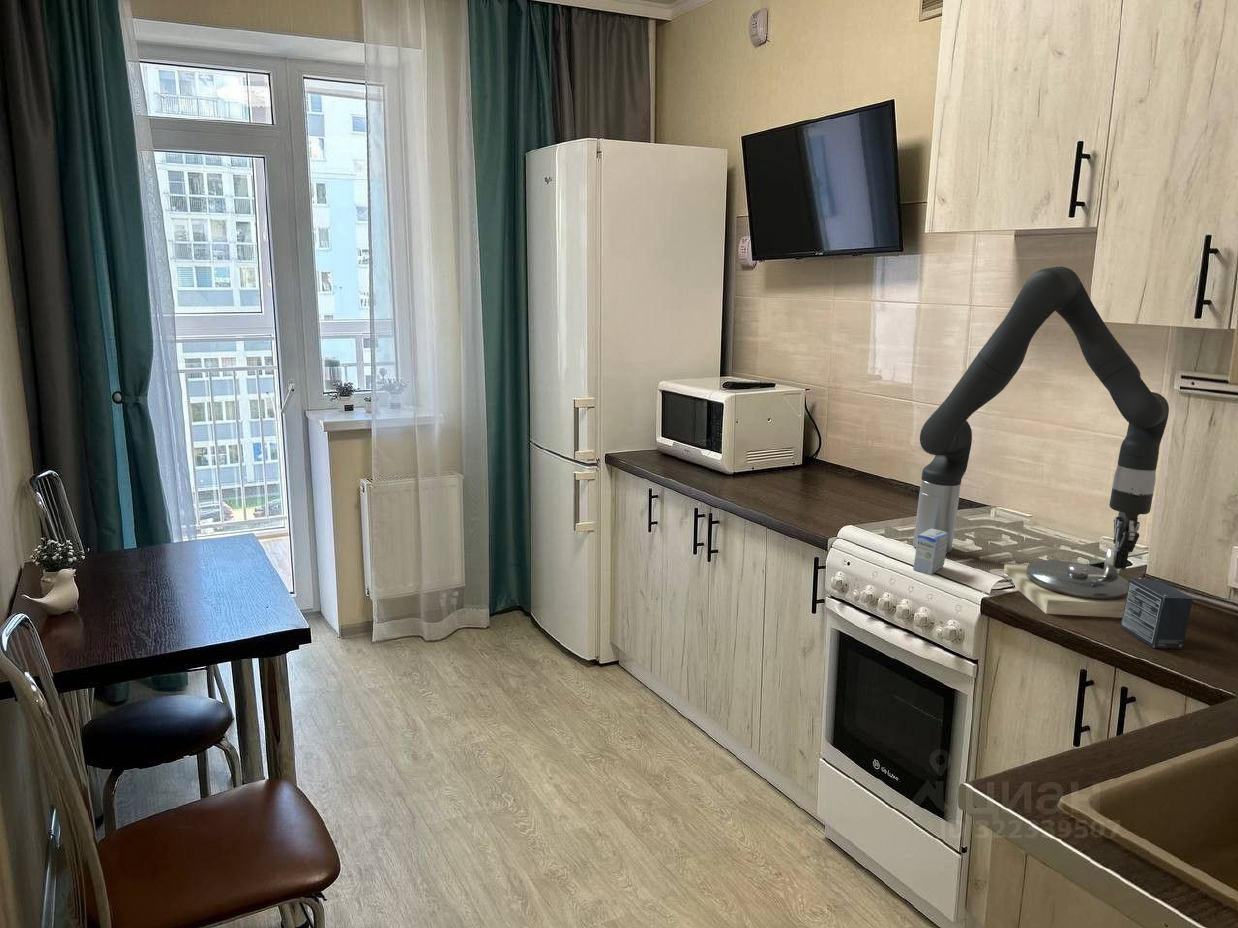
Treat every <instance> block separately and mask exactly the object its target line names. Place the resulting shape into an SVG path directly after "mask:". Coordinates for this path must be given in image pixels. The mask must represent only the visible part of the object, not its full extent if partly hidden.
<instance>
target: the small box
mask: <svg viewBox="0 0 1238 928" xmlns="http://www.w3.org/2000/svg"><path fill="white" fill-rule="evenodd" d="M1128 582H1129V586H1128V592H1127V597H1126V602H1125V607H1124V612H1123V617H1122V618H1121V621H1120V626H1119V627H1120V628H1121V629H1122V630H1124V631H1125V632H1127V633H1128V634H1130V635H1132V636H1133V637H1135V638H1136V639H1138V640H1139V641H1141V642H1142V643H1144V644H1146V645H1148V646H1149V647H1151V648H1152V649H1168V648H1170V649H1171V650H1175V649H1176V650H1182V649H1183V648H1184V643H1185V638H1186V633H1187V629H1188V625H1189V619H1190V614H1191V610H1192V605H1193V602H1194V597H1192V596H1190V595H1188V594H1187V593H1184V592H1183V591H1181V590H1178V589H1176V588H1174V587H1173V586H1171V585H1169V584H1166V583H1165V582H1163V581H1161V580H1159V579H1150V578H1136V577H1135V578H1132V577H1131V578H1129V579H1128Z"/></svg>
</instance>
